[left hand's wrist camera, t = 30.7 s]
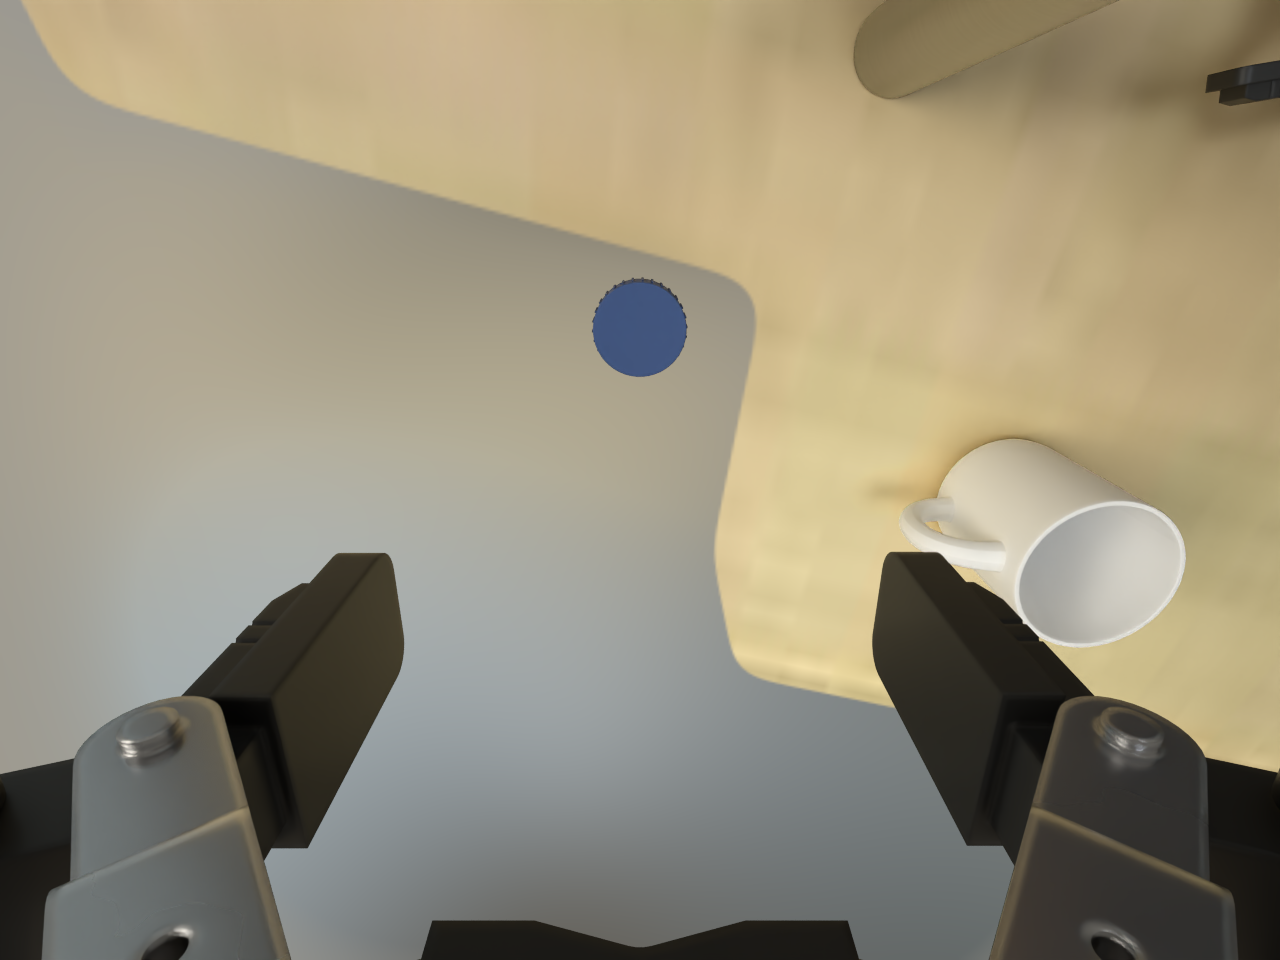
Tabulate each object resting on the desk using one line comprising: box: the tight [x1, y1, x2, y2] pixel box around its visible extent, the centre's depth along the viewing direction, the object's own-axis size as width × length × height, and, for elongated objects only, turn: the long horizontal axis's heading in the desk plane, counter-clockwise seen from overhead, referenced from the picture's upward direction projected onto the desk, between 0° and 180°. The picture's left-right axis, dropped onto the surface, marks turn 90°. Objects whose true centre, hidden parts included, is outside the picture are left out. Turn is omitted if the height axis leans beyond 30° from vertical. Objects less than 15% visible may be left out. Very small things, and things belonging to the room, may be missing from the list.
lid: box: [592, 277, 687, 377], centre depth 38 cm, size 5×5×2 cm
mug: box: [899, 439, 1186, 647], centre depth 38 cm, size 12×8×10 cm
